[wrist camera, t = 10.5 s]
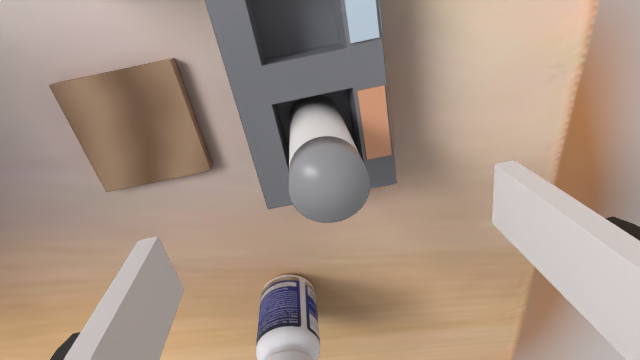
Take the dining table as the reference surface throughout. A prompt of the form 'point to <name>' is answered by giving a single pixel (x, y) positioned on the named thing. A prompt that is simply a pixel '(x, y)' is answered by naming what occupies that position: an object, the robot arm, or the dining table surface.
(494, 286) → the dining table surface
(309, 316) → the pill bottle
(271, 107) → the socket box
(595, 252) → the robot arm
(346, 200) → the plug
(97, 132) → the coaster
